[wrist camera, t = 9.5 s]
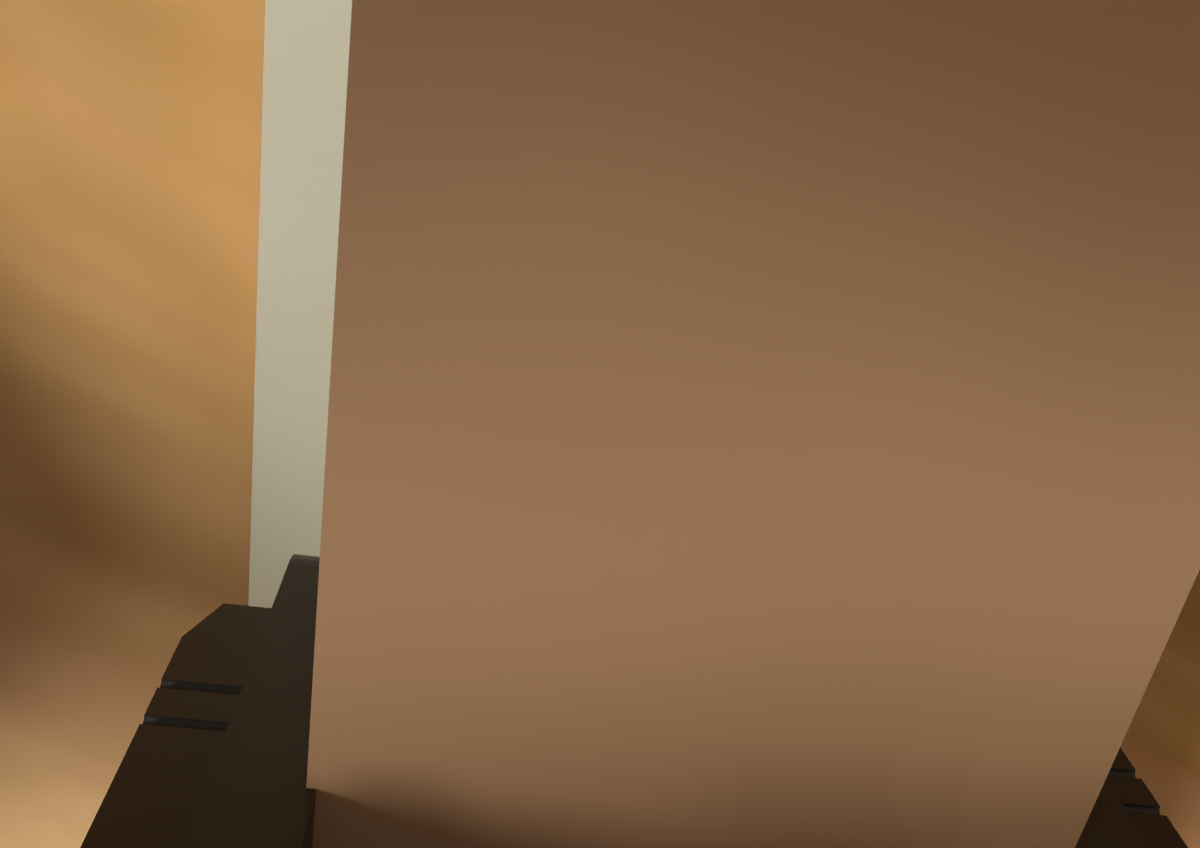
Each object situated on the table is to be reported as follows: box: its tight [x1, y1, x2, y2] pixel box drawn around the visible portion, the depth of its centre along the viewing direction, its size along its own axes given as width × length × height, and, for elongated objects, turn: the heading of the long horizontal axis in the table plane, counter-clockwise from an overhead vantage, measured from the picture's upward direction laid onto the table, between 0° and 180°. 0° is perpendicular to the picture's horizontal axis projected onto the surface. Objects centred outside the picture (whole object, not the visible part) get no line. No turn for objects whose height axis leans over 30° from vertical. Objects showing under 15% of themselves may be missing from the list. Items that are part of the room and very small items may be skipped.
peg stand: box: [248, 0, 352, 608], centre depth 15 cm, size 10×20×5 cm, turn 171°
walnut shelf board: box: [306, 0, 1200, 848], centre depth 10 cm, size 16×5×4 cm, turn 171°
